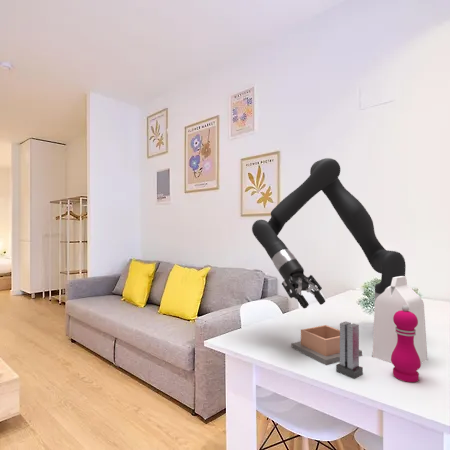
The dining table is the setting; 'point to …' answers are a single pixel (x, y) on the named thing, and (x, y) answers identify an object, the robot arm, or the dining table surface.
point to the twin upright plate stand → (349, 351)
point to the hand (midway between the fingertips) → (315, 305)
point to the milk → (385, 325)
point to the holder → (320, 344)
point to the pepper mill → (405, 347)
